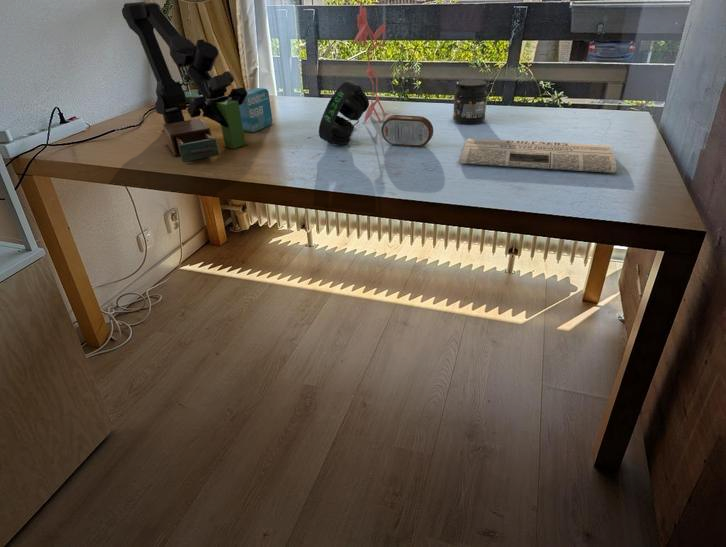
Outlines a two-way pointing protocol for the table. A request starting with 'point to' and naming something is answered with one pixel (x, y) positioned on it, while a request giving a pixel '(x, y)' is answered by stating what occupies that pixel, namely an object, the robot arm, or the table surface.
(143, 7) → the robot arm
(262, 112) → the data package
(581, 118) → the table surface
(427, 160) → the table surface
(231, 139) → the green beveled box
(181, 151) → the drawer
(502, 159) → the newspaper
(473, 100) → the supplement container
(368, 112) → the figurine
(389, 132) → the tin
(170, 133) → the cabinet
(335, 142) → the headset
